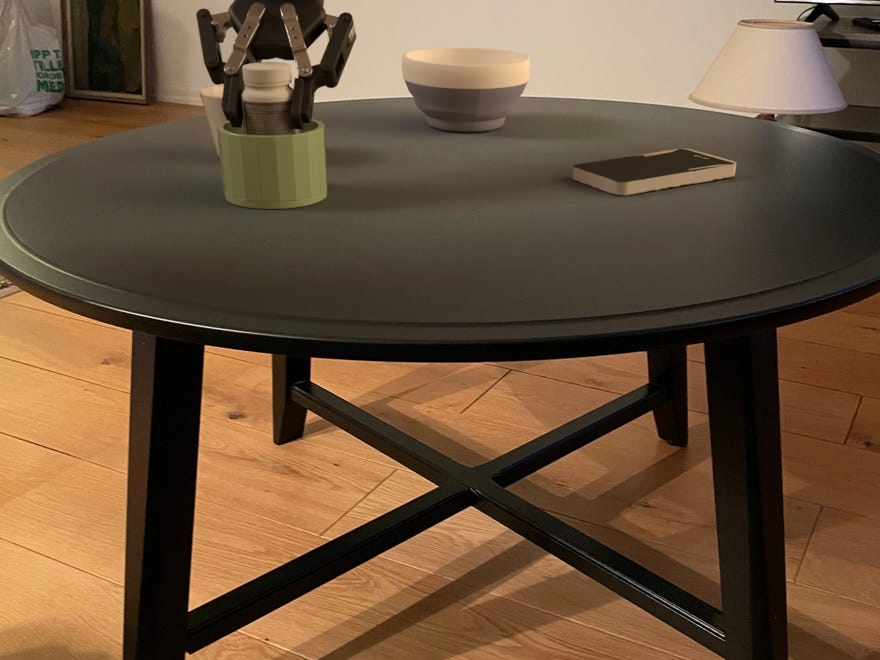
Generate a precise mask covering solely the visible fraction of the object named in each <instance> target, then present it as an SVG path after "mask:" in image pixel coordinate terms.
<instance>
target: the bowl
mask: <svg viewBox="0 0 880 660" xmlns="http://www.w3.org/2000/svg"><path fill="white" fill-rule="evenodd" d="M530 71H531V61H530V57H529V56H528V55H526V54H525V53H524V54H523V53H522V52H519V51H518V52H517V51H511V50H506V49H497V48H485V47H482V48H481V47H454V46H453V47H431V48H421V49H415V50H410V51H407V52H405V53H404V54H403V55H402V59H401V73H402V79H403V80H404V83H405V85H406V88H407V90H408V92H409V93H410V94H411V96H412V97H413V100H414V105H416V107H417V108H418V110H419V111H420V112H422V113H423V114H424V117H425V121H426V122H427V124H428V125H429V126H430V127H432V128H433V129H436V130H440V131H443V132H451V133H465V134H466V133H472V134H473V133H485V132H491V131H494V130H495V131H496V130H498V129H499V128H501V127H502V126H503V125H504V124H505V121H506V116H507V115H509V114H510V113H511V112H512V111H513V110H514V109H515V108H516V107H517V102H518V100H519V98H520V97H521V96H522V95H523V93H524V92H525V89H526V86H527V84H528V82H529V79H530Z"/></svg>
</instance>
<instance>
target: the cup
mask: <svg viewBox="0 0 880 660" xmlns="http://www.w3.org/2000/svg"><path fill="white" fill-rule="evenodd" d="M299 132H300V133H297V134H290V135H275V136H258V135H245V134H244V125H243V120H242V127H241V128H235V127H232V126H231V123H230V121H225V122H223V123H220V124H219V125H218V126H217V134H218V144H219V154H220V157H219V163H220V172H221V181H222V183H221V184H222V189H223V190H222V191H223V195H224V200H226V202H228V203H230V204H232V205H235V206H238V207H241V208H247V209H257V210H284V209H285V210H286V209H293V208H296V209H297V208H302V207H307V206H311V205H314V204H318V203H320V202H322V201H325V199H326V198H327V197H328V187H329V184H328V183H329V182H328V168H327V167H328V166H327V148H326V147H327V146H326V129H325V123H323V121H320V120H318V119H314V118H312V119H311V121H310V123H305V124H304V129H303V130H299Z"/></svg>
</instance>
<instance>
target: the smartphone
mask: <svg viewBox="0 0 880 660" xmlns="http://www.w3.org/2000/svg"><path fill="white" fill-rule="evenodd" d="M736 170H737V162H736V161H734V160H730V159H727V158H723V157H720V156H716V155H713V154H709V153H706V152H702V151H699V150H695V149H691V148H676V149H668V150H662V151H655V152H650V153H648V152H647V153H642V154H635V155H630V156H629V155H628V156H623V157H616V158H615V157H614V158H610V159H604V160H602V159H601V160H596V161H590V162H583V163H577V164H573V165H572V180H573V181H575V182H578V183H581V184H584V185H586V186H589V187H592V188H595V189H597V190H601V191H603V192H607V193H608V194H612V195H614V196H615V195H616V196H624V197H625V196H632V195H637V194H642V193H643V194H644V193H648V192H654V191H655V192H656V191H659V190H667V189H671V188H672V189H673V188H677V187H682V186H688V185H694V184H700V183H705V182H712V181H717V180H722V179H729V178H734V177H736Z"/></svg>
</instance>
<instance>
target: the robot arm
mask: <svg viewBox="0 0 880 660" xmlns="http://www.w3.org/2000/svg"><path fill="white" fill-rule="evenodd" d="M324 6H325V0H233V1H232V3H231V4H230V5H229V7H228V9H227V11H225V12H219V13H214V14H212V13H211V12H210V9H207V8H199V10H197V11H196V14H195V17H196V22H197V28H198V35H199V40H200V47H201V53H202V60H203V64H204V66H205V69H206V71H207V73H208V76H209V78H210V80H211V82H212V83H213V85H222V84H224V87H223V96H222V103H221V107H222V110H223V112H224V115H225V117H226V119H227V121H230V123H231V126H232V127H235V128H241V127H242V120H243V115H242V106H241V93H242V91H243V90H244V88H245V86H246V85H245V84H244V80H243V70H242V67H243V66H244V65H246V64H251V63H260V62H262V61H263V60H264V61H268V60H273V59H278V60H279V59H280V60H283V61H294V63H295V66H296V70H297V72H298V76H297V77H294V81H293V99H292V108H291V119H292V122H293V125H294V128H295V129H298V130H303V129H304V124H305V123H310V121H311V119H313V113H314V103H315V94H316V91H317V90H319V89H320V88H323V87H326V88H328V89H334V88H336V87H337V86H338V85H339V83H340V80H341V77H342V75H343V72H344V69H345V67H346V65H347V62H348V59H349V57H350V54H351V52H352V50H353V47H354V44H355V42H356V40H357V33H356V27H355V23H354V19H353V15H352V13H350V12H346V11H344V12H341V13H340V14H339V16H336V15H331V14H327V12H326V10H325V7H324ZM230 28H233V31H234V32H235V34H236V37H235V39H234V40H233V44H232V50H231V51H232V52H231V53H230V55H229V57H228V59H227V61H226V62H225V61H223V56H222V51H221V49H222V48H221V44H223V43H224V42H225V39H226V36H227V32H228V30H229V29H230ZM325 31H326V32H327V37H328V42H327V44H326V47H325V50H324V52H323V54H322V57H321V59H320V62H319V63H318V64H313V65H312V63H311V60H310V57H309V52H308V49H309V48H310V47H311V46H312V45H313V44H314V43H315V42H316V41H317V40H318V39H319V38H320V37H321V36H322V35H323V34H324V32H325Z"/></svg>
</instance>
